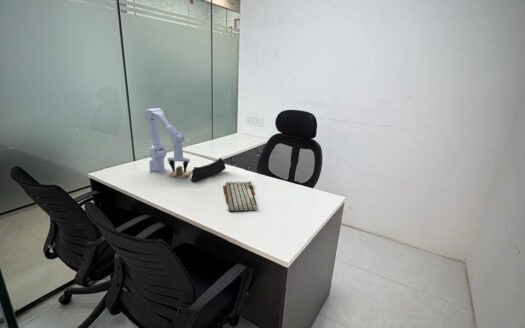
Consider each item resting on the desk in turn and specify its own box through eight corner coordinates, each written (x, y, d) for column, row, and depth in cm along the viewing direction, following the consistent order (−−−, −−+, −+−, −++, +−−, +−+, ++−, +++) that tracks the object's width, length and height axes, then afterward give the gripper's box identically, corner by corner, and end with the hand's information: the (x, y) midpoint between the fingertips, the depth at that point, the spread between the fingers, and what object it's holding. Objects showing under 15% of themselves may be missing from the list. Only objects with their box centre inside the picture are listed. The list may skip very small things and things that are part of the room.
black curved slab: (190, 172, 163) (221, 149, 184) (187, 170, 165) (218, 148, 185) (197, 193, 173) (226, 169, 193) (194, 192, 174) (223, 168, 194)
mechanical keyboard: (263, 211, 139) (263, 206, 138) (227, 214, 135) (227, 208, 134) (251, 184, 174) (251, 179, 173) (222, 185, 170) (222, 181, 169)
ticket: (174, 172, 184) (173, 170, 184) (178, 168, 193) (178, 166, 192) (190, 173, 184) (190, 171, 184) (194, 169, 193) (194, 167, 192)
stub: (169, 176, 176) (168, 168, 174) (173, 172, 184) (173, 164, 182) (186, 177, 176) (186, 169, 174) (190, 173, 183) (190, 165, 181)
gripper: (165, 153, 170) (166, 172, 174) (187, 154, 169) (188, 174, 174) (169, 150, 177) (170, 169, 181) (190, 151, 176) (191, 170, 180)
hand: (179, 171), depth 178 cm, fingers open, 7 cm apart
